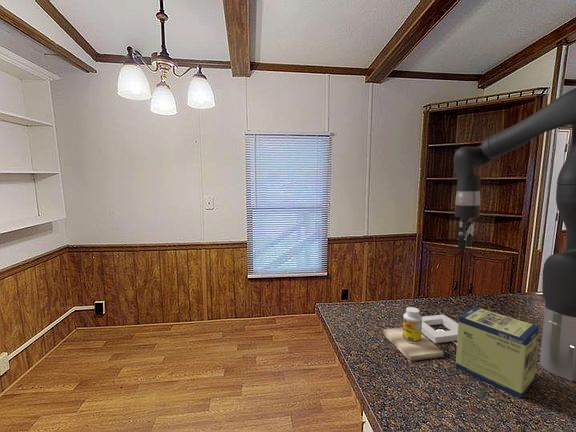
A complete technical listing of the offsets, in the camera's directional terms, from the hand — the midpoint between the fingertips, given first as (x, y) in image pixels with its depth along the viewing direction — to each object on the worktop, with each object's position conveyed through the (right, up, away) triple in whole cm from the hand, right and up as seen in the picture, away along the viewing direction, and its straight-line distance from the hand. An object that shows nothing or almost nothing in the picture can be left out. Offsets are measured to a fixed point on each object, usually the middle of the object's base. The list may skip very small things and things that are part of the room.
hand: (464, 248), depth 106 cm
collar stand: (-11, -29, -3) cm, 31 cm away
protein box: (-8, -32, -27) cm, 42 cm away
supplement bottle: (-24, -29, -11) cm, 39 cm away
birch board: (-24, -30, -11) cm, 40 cm away
